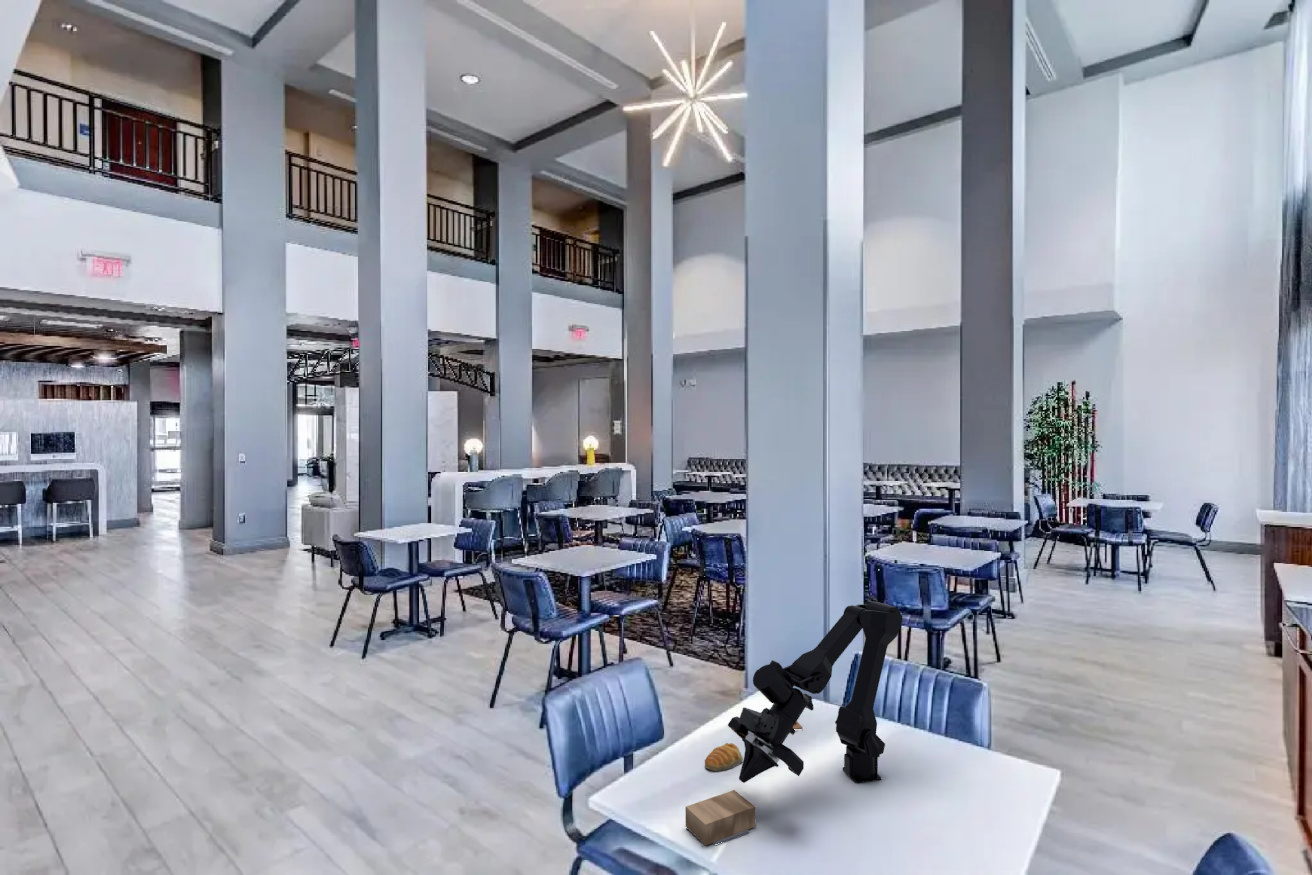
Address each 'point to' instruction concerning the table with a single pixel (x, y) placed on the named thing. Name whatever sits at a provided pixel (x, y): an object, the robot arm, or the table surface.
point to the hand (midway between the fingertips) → (741, 781)
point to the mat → (732, 837)
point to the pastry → (723, 757)
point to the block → (720, 817)
